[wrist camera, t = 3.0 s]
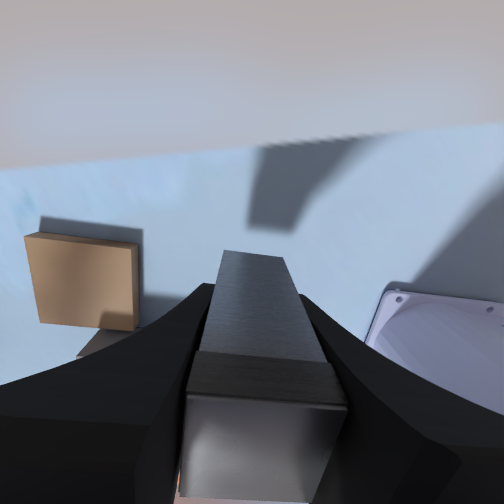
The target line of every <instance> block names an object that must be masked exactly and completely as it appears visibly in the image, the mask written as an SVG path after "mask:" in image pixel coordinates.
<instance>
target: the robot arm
mask: <svg viewBox="0 0 504 504" xmlns="http://www.w3.org/2000/svg"><path fill="white" fill-rule="evenodd" d="M214 288H215V284H208V283H202V284H201V285H200V286H199V287H198V288H196V289H195V290H194V291H193V292H192V293H191V294H190V295H189V296H188V297H187V298H185V299H184V300H183V301H182V302H181V303H179V304H178V305H177V306H176V307H174V308H173V309H172V310H170V311H169V312H168V313H166V314H165V315H164V316H162V317H161V318H159V319H158V320H156V321H155V322H153V323H152V324H150V325H148V326H146V327H145V328H143V329H141V330H140V331H138V332H136V333H134V334H132V335H130V336H128V337H126V338H124V339H122V340H120V341H118V342H116V343H114V344H112V345H110V346H108V347H105V348H103V349H101V350H98V351H96V352H94V353H91V354H89V355H87V356H84V357H82V358H79V359H76V360H74V361H71V362H69V363H66V364H63V365H61V366H58V367H55V368H52V369H49V370H46V371H43V372H40V373H37V374H34V375H31V376H28V377H25V378H22V379H19V380H16V381H13V382H10V383H7V384H4V385H0V504H173V503H174V498H175V493H176V487H177V482H178V477H179V472H180V463H181V449H182V435H183V421H184V407H185V393H186V388H187V384H188V380H189V376H190V373H191V369H192V365H193V361H194V357H195V354H196V350H197V351H199V348H200V344H201V340H202V336H203V332H204V328H205V324H206V320H207V316H208V312H209V308H210V304H211V300H212V296H213V292H214ZM399 296H400V297H399ZM299 297H300V299H301V301H302V304H303V306H304V308H305V311H306V313H307V315H308V318H309V320H310V322H311V325H312V327H313V329H314V332H315V334H316V337H317V339H318V341H319V344H320V346H321V348H322V351H323V353H324V355H325V358H326V360H327V362H328V363H331V364H332V366H333V369H334V371H335V373H336V375H337V378H338V380H339V382H340V384H341V387H342V389H343V391H344V393H345V396H346V398H347V400H348V402H349V406H348V413H347V415H346V418H345V420H344V423H343V425H342V428H341V430H340V433H339V435H338V438H337V440H336V443H335V445H334V448H333V450H332V453H331V455H330V458H329V460H328V463H327V465H326V468H325V470H324V473H323V475H322V478H321V480H320V483H319V485H318V488H317V490H316V493H315V495H314V498H313V500H312V503H309V504H504V304H503V303H499V302H491V301H482V300H473V299H465V298H456V297H448V296H439V295H431V294H422V293H414V292H405V291H397V290H389V291H387V292H385V293H384V295H383V297H382V300H381V303H380V305H379V308H378V310H377V313H376V316H375V318H374V321H373V324H372V326H371V329H370V331H369V334H368V337H367V339H366V342H365V343H364V342H362V341H361V340H359V339H358V338H357V337H355V336H354V335H353V334H351V333H350V332H349V331H347V330H346V329H345V328H343V327H342V326H341V325H340V324H338V323H337V322H336V321H335V320H333V319H332V318H331V317H330V316H329V315H327V314H326V313H325V312H324V311H323V310H321V309H320V308H319V307H318V306H317V305H316V304H314V303H313V302H312V301H311V300H310V299H308V298H307V297H306V296H304V295H303V294H299ZM397 297H399V298H398V299H397V300H396V298H397Z"/></svg>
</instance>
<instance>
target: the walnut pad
mask: <svg viewBox="0 0 504 504" xmlns="http://www.w3.org/2000/svg"><path fill="white" fill-rule="evenodd" d="M24 241H25V246H26V251H27V257H28V262H29V267H30V272H31V278H32V283H33V288H34V294H35V299H36V304H37V309H38V315H39V320H40V323H48V324H59V325H70V326H80V327H91V328H102V329H113V330H124V331H134V330H135V328H136V327H137V325H138V324H139V322H140V321H139V268H138V244H133V243H125V242H117V241H108V240H100V239H92V238H84V237H76V236H68V235H60V234H51V233H43V232H36V233H33V234H30V235H26V236H24Z"/></svg>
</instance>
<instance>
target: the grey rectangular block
mask: <svg viewBox="0 0 504 504" xmlns="http://www.w3.org/2000/svg"><path fill="white" fill-rule="evenodd" d="M348 406H349V402H348V400H347V398H346V396H345V393H344V391H343V389H342V387H341V384H340V382H339V380H338V378H337V375H336V373H335V371H334V369H333V366H332V364H331V363H328V362H327V360H326V358H325V355H324V353H323V351H322V348H321V346H320V344H319V341H318V339H317V337H316V334H315V332H314V329H313V327H312V325H311V322H310V320H309V318H308V315H307V313H306V311H305V308H304V306H303V304H302V301H301V299H300V297H299V294H298V292H297V290H296V287H295V285H294V283H293V280H292V278H291V276H290V273H289V271H288V269H287V266H286V264H285V261H284V259H283V257H276V256H268V255H260V254H252V253H245V252H237V251H229V250H224V252H223V256H222V260H221V264H220V268H219V272H218V276H217V280H216V284H215V288H214V292H213V296H212V300H211V304H210V308H209V312H208V316H207V320H206V324H205V328H204V332H203V336H202V340H201V344H200V348H199V351H197V350H196V354H195V357H194V361H193V365H192V369H191V373H190V376H189V380H188V384H187V388H186V393H185V407H184V421H183V435H182V449H181V463H180V477H179V491H178V492H180V497H193V498H194V497H195V498H215V499H237V500H258V501H260V500H261V501H281V502H302V503H312V500H313V498H314V495H315V493H316V490H317V488H318V485H319V483H320V480H321V478H322V475H323V473H324V470H325V468H326V465H327V463H328V460H329V458H330V455H331V453H332V450H333V448H334V445H335V443H336V440H337V438H338V435H339V433H340V430H341V428H342V425H343V423H344V420H345V418H346V415H347V413H348Z"/></svg>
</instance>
